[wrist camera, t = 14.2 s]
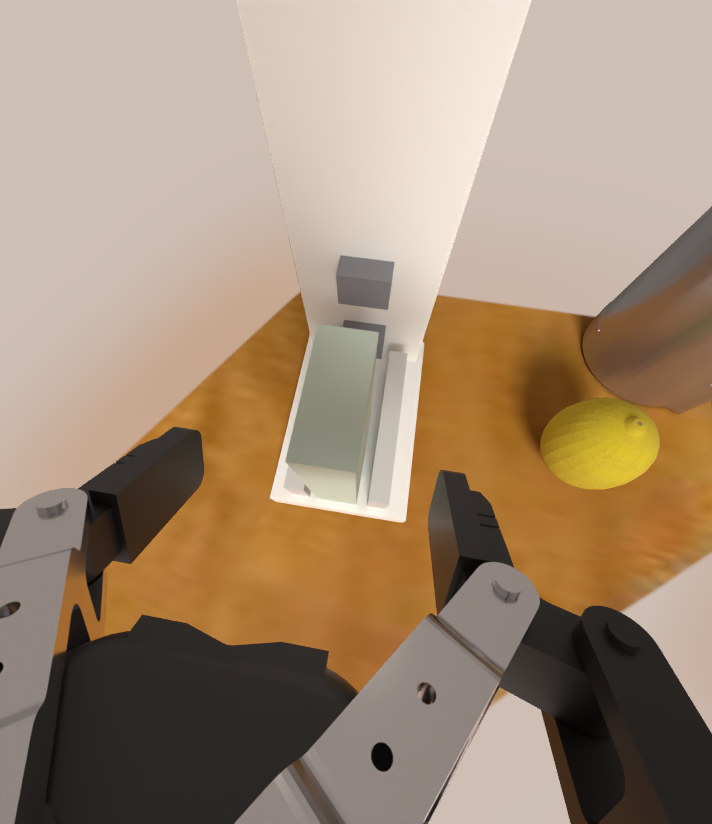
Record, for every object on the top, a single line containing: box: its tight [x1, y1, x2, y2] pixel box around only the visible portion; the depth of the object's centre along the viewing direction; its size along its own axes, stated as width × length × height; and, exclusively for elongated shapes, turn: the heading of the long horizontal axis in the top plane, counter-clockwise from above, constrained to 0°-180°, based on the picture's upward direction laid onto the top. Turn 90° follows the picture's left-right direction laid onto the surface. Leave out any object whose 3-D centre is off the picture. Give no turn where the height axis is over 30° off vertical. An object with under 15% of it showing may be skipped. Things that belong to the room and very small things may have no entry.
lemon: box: [540, 398, 660, 489], centre depth 22 cm, size 6×6×8 cm
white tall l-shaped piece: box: [236, 0, 531, 523], centre depth 16 cm, size 14×9×24 cm, turn 171°
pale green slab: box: [285, 324, 379, 505], centre depth 19 cm, size 7×3×11 cm, turn 171°
